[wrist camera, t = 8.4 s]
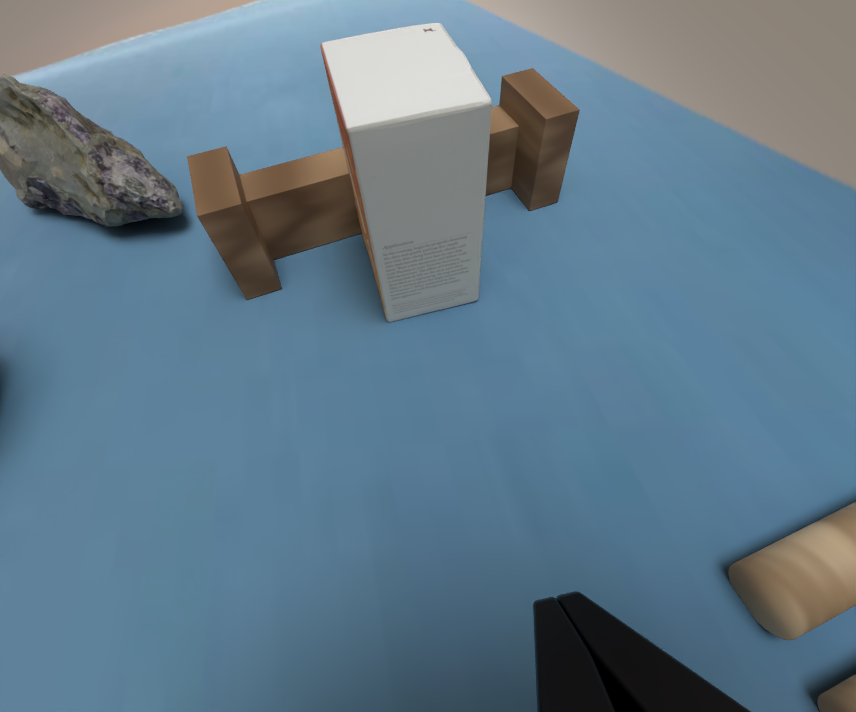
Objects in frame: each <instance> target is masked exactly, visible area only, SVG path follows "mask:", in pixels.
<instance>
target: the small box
mask: <svg viewBox="0 0 856 712" xmlns="http://www.w3.org/2000/svg"><path fill="white" fill-rule="evenodd" d="M321 51H322V56H323V60H324V64H325V69H326V73H327V78H328V82H329V87H330V91H331V95H332V100H333V104H334V109H335V113H336V117H337V122H338V126H339V131H340V135H341V140H342V144H343V149H344V153H345V158H346V162H347V167H348V171H349V175H350V180H351V184H352V189H353V194H354V199H355V204H356V208H357V213H358V218H359V222H360V227H361V231H362V235H363V240H364V243H365V246H366V248H367V251H368V254H369V258H370V261H371V265H372V268H373V272H374V276H375V280H376V283H377V287H378V291H379V294H380V298H381V302H382V305H383V309H384V313H385V318H386V320H387V321H388V322H393V321H396V320H400V319H404V318H408V317H413V316H417V315H421V314H425V313H429V312H433V311H437V310H442V309H446V308H450V307H454V306H458V305H462V304H466V303H470V302H474V301H477V300H478V298H479V281H480V265H481V250H482V237H483V225H484V210H485V196H486V182H487V167H488V153H489V140H490V124H491V109H492V100H491V98H490V97H489V95H488V93H487V91H486V90H485V88H484V87H483V85H482V84H481V82H480V80H479V79H478V77H477V76H476V74H475V73H474V71H473V69H472V68H471V66H470V64H469V62H468V60H467V58H466V57H465V55H464V54H463V52H462V51H461V50H460V49H459V48H458V47H457V46H456V45H455V43H454V42H453V40H452V39H451V37H450V36H449V35H448V33H447V32H446V30H445V29H444V27H443V26H442V24H441V23H431V24H423V25H415V26H409V27H403V28H397V29H391V30H385V31H380V32H374V33H369V34H364V35H359V36H353V37H348V38H343V39H338V40H333V41H328V42H323V43H321Z"/></svg>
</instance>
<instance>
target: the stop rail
mask: <svg viewBox="0 0 856 712" xmlns="http://www.w3.org/2000/svg"><path fill="white" fill-rule="evenodd" d="M578 115H579V109H578V108H577V107H576V106H575V105H574V104H572V103H571V102H570V101H569V100H568V99H567V98H566V97H565V96H563V95H562V94H561V93H560V92H559V91H558V90H557V89H556V88H554V87H553V86H552V85H551V84H550V83H549V82H548V81H547V80H545V79H544V78H543V77H542V76H541V75H540V74H539V73H538V72H536V71H535V70H534V69H533V68H532V69H528V70H524V71H520V72H516V73H512V74H509V75H505V76H502V82H501V93H500V105H499V106H496V107H492V109H491V124H490V140H489V153H488V167H487V182H486V195H490V194H493V193H496V192H499V191H503V190H506V189H509V188H511V189H512V190H513V191H514V192H515V194H516V195H517V196H518V197H519V198H520V200H521V201H522V202H523V203H524V205H525V206H526V207H527V208H528V210H529V211H531V210H534V209H537V208H540V207H544V206H547V205H550V204H553V203H556V202H558V198H559V194H560V190H561V186H562V182H563V177H564V173H565V169H566V165H567V161H568V157H569V152H570V148H571V144H572V140H573V136H574V131H575V127H576V123H577V119H578ZM187 158H188V164H189V170H190V176H191V182H192V188H193V194H194V200H195V206H196V212H197V217H198V218H199V220H200V222H201V223H202V225H203V227H204V228H205V230H206V232H207V233H208V235H209V237H210V238H211V240H212V242H213V244H214V245H215V247H216V249H217V250H218V252H219V254H220V255H221V257H222V259H223V260H224V262H225V264H226V265H227V267H228V269H229V270H230V272H231V274H232V276H233V277H234V279H235V281H236V282H237V284H238V286H239V287H240V289H241V291H242V292H243V294H244V296H245V297H246V299H247V300H248V299H251V298H254V297H258V296H261V295H264V294H267V293H270V292H273V291H277V290H280V289H282V287H281V284H280V281H279V277H278V274H277V270H276V267H275V263H274V260H275V259H278V258H281V257H285V256H288V255H291V254H295V253H298V252H301V251H304V250H308V249H311V248H314V247H318V246H321V245H324V244H328V243H331V242H334V241H337V240H341V239H344V238H347V237H351V236H354V235H357V234H361V233H362V231H361V227H360V222H359V218H358V213H357V208H356V204H355V199H354V194H353V189H352V184H351V180H350V175H349V171H348V167H347V162H346V158H345V153H344V149H343V147H342V148H338V149H334V150H331V151H327V152H323V153H319V154H316V155H312V156H308V157H305V158H301V159H297V160H293V161H290V162H286V163H282V164H278V165H275V166H271V167H267V168H263V169H260V170H256V171H252V172H248V173H245V174H241V175H239V173H238V171H237V169H236V166H235V164H234V162H233V160H232V158H231V155H230V153H229V151H228V149H227V146H226V147H222V148H218V149H215V150H211V151H207V152H203V153H199V154H195V155H191V156H187Z"/></svg>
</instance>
